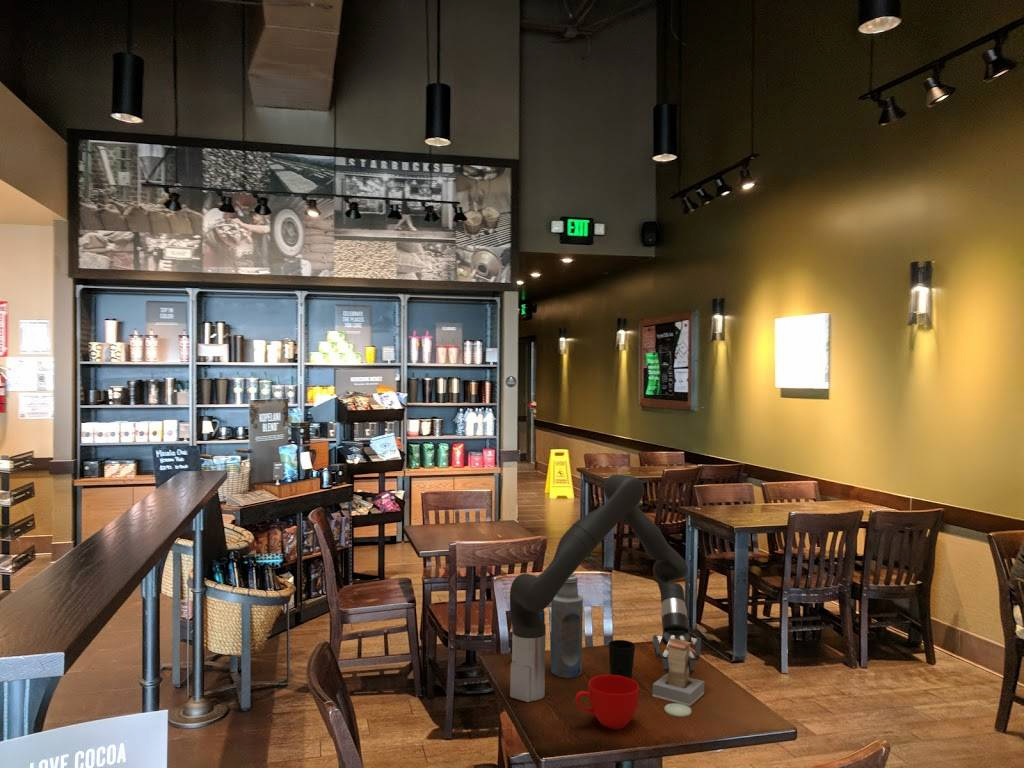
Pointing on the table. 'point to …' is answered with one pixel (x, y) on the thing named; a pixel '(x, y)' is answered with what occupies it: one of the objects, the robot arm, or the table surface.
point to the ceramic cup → (612, 699)
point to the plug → (678, 663)
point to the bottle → (567, 630)
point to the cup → (621, 657)
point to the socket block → (678, 691)
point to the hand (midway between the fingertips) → (679, 672)
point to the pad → (677, 710)
